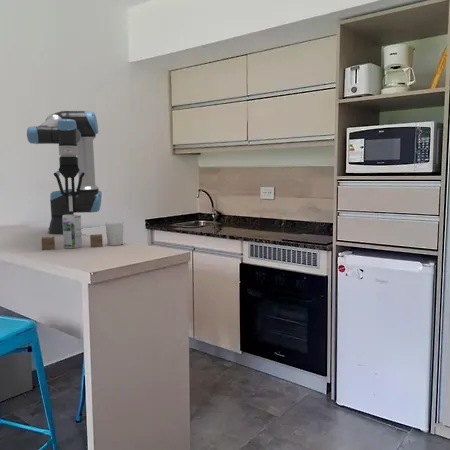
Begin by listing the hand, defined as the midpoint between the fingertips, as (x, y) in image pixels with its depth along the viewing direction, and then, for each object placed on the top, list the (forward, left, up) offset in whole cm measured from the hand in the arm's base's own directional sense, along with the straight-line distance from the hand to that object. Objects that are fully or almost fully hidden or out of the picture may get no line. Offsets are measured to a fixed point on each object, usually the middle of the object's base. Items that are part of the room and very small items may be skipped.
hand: (71, 211), depth 197 cm
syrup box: (0, 0, -16) cm, 16 cm away
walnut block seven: (+6, -8, -16) cm, 19 cm away
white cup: (-13, +13, -16) cm, 25 cm away
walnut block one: (-7, +8, -16) cm, 19 cm away
